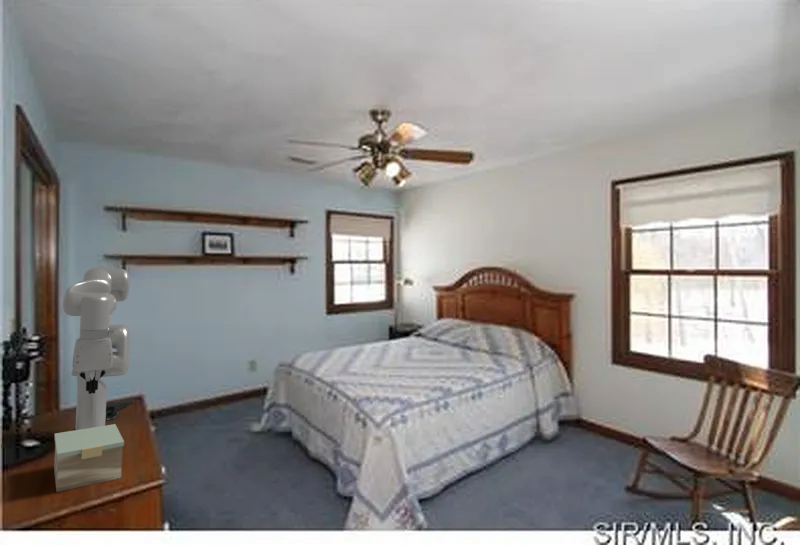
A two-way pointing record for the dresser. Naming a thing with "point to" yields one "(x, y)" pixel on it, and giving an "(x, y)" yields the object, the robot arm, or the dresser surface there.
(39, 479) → the dresser surface
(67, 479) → the box
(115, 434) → the lid
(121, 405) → the sculpture
